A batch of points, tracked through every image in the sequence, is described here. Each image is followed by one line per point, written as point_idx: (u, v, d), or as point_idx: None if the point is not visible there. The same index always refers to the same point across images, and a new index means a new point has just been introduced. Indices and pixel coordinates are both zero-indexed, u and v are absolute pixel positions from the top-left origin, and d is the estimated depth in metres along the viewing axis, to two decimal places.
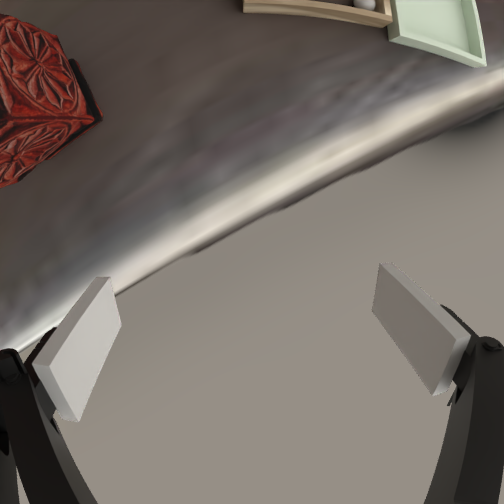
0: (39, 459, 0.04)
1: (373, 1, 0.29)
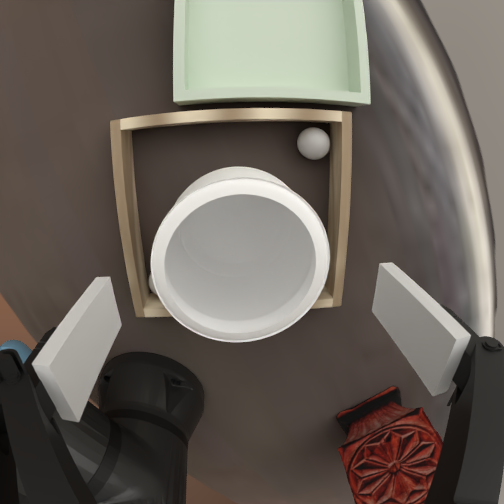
0: (39, 459, 0.04)
1: (318, 134, 0.27)
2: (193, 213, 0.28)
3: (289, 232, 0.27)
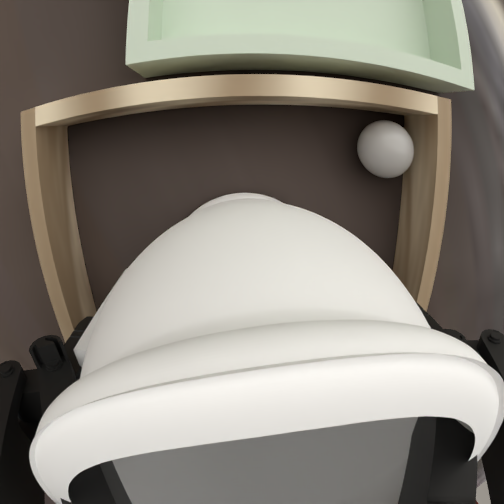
0: None
1: (399, 134, 0.13)
2: None
3: None
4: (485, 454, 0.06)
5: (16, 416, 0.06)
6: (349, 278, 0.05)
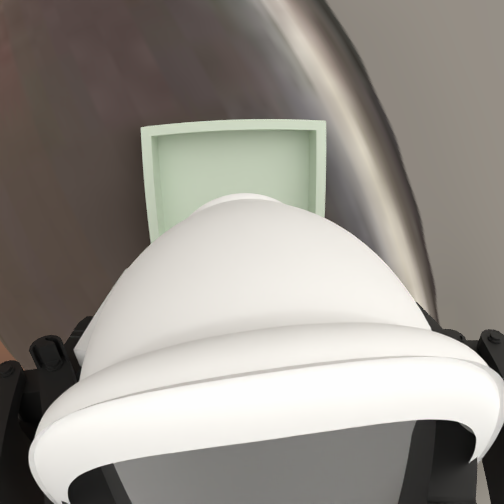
0: None
1: None
2: None
3: None
4: (485, 454, 0.06)
5: (16, 416, 0.06)
6: (350, 279, 0.05)
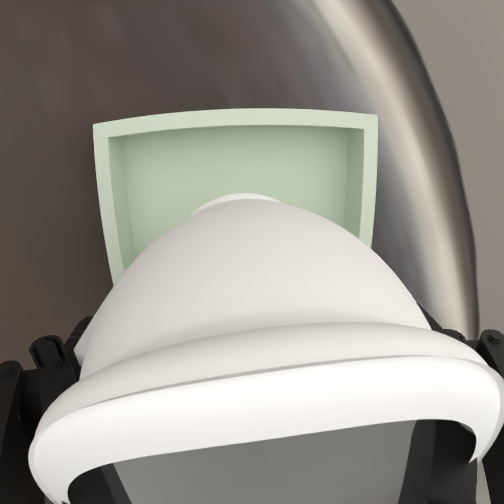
0: None
1: None
2: None
3: None
4: (485, 454, 0.06)
5: (16, 416, 0.06)
6: (350, 279, 0.05)
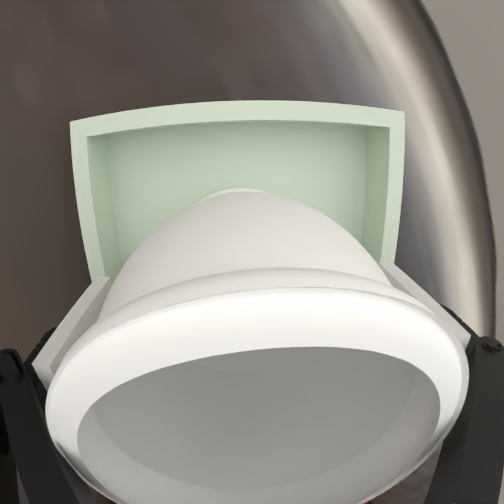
0: (39, 459, 0.04)
1: None
2: None
3: None
4: None
5: None
6: (319, 248, 0.07)
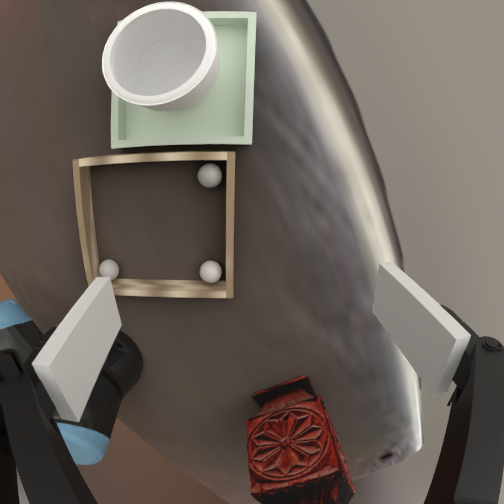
0: (39, 459, 0.04)
1: (209, 170, 0.38)
2: (148, 70, 0.31)
3: None
4: None
5: None
6: (181, 14, 0.22)
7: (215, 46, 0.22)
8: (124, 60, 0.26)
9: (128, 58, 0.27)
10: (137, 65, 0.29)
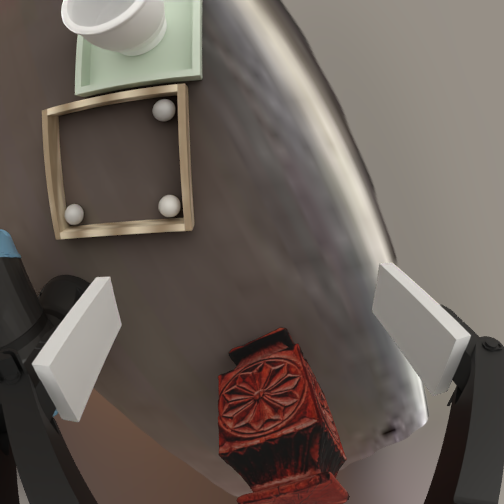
0: (39, 459, 0.04)
1: (162, 103, 0.36)
2: None
3: (162, 18, 0.29)
4: None
5: None
6: None
7: None
8: (84, 13, 0.25)
9: (88, 13, 0.26)
10: (96, 20, 0.28)
